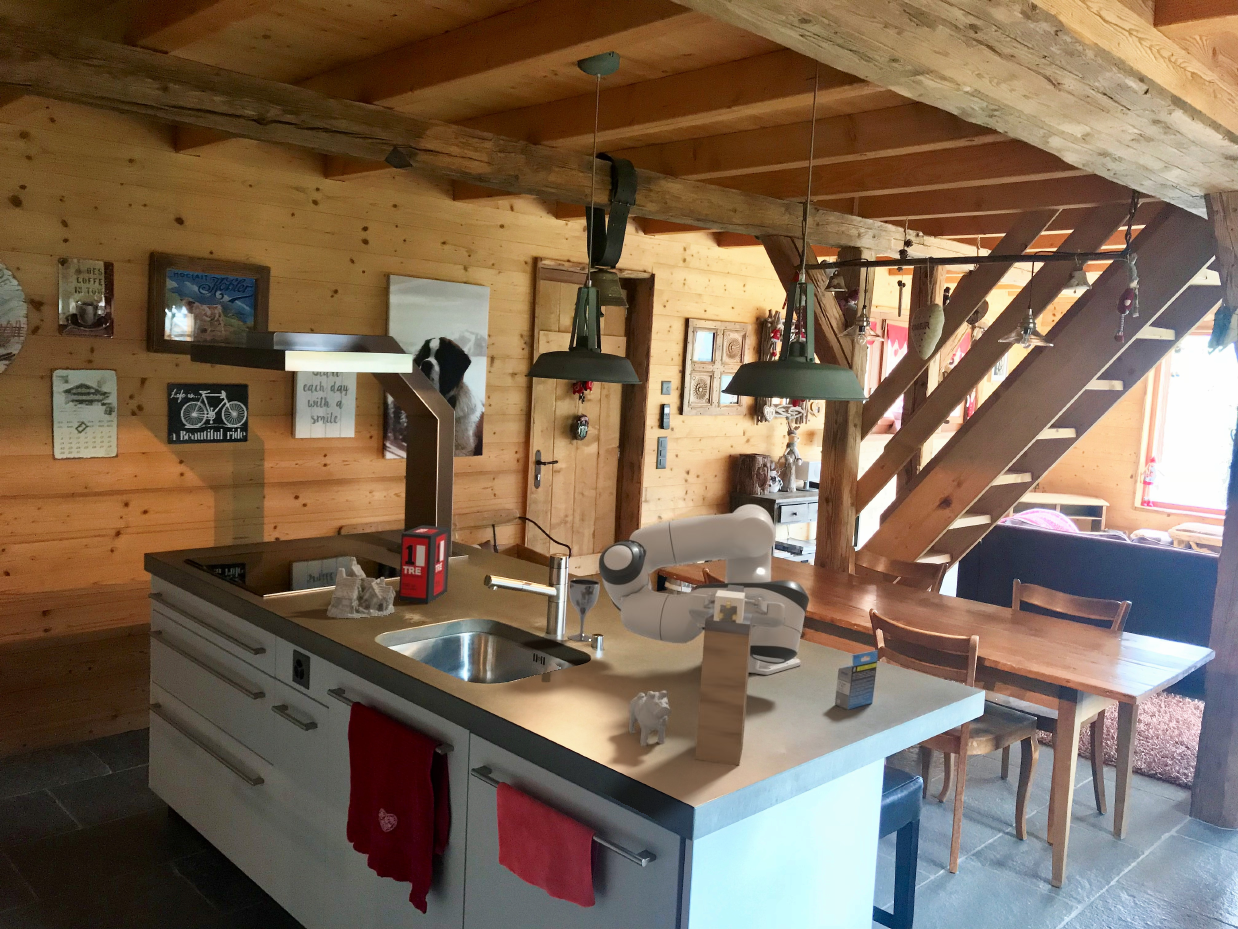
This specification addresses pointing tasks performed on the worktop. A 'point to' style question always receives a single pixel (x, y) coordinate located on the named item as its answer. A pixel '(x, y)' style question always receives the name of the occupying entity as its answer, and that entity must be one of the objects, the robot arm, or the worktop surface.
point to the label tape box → (857, 681)
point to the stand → (723, 689)
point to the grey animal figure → (649, 715)
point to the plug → (730, 604)
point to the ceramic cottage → (360, 595)
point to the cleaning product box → (424, 564)
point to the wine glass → (583, 602)
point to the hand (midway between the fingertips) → (734, 599)
